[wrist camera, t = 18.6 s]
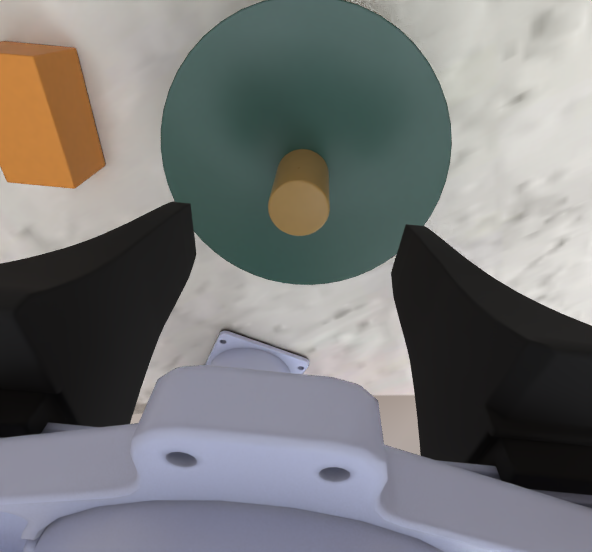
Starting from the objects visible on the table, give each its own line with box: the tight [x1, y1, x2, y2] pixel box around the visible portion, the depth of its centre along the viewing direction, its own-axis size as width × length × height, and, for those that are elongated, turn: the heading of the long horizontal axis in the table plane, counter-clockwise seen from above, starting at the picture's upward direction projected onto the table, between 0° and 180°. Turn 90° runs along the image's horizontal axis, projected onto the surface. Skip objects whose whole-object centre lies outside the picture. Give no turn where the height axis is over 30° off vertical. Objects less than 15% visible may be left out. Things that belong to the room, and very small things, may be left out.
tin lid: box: [161, 0, 452, 285], centre depth 16 cm, size 13×13×5 cm
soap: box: [0, 41, 105, 188], centre depth 18 cm, size 6×4×3 cm, turn 176°
